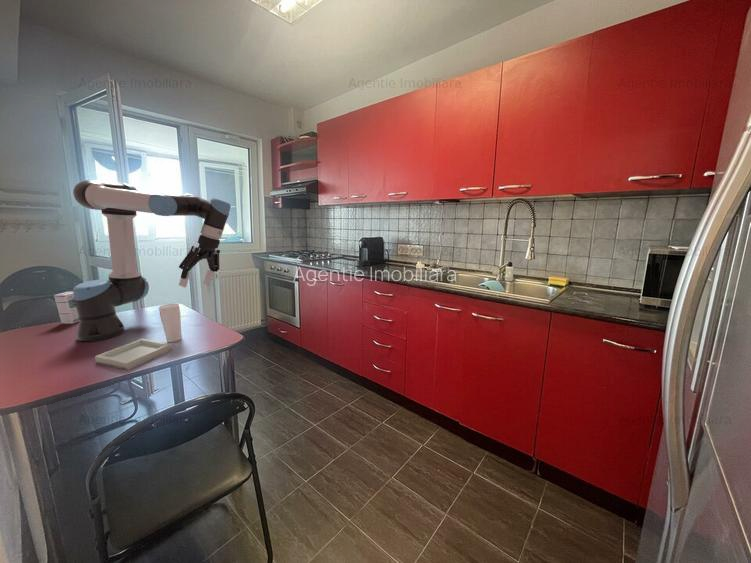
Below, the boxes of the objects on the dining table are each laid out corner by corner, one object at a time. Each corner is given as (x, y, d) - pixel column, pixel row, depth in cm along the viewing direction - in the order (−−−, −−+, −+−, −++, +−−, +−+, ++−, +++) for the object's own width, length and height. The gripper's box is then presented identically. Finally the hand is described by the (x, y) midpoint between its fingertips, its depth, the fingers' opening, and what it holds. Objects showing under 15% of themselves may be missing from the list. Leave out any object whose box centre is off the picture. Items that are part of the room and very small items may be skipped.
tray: (96, 362, 104) (94, 356, 104) (143, 344, 119) (142, 338, 119) (127, 370, 99) (126, 363, 99) (172, 349, 114) (171, 343, 114)
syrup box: (73, 323, 141) (66, 294, 138) (60, 323, 141) (53, 294, 138) (84, 319, 147) (78, 291, 144) (73, 319, 147) (66, 291, 144)
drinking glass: (187, 338, 125) (182, 304, 122) (172, 344, 119) (166, 309, 116) (176, 335, 127) (171, 302, 124) (160, 342, 121) (154, 307, 118)
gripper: (196, 236, 108) (179, 290, 109) (236, 242, 132) (222, 286, 134) (178, 229, 108) (161, 283, 110) (222, 237, 133) (208, 281, 135)
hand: (195, 285), depth 122 cm, fingers open, 13 cm apart
